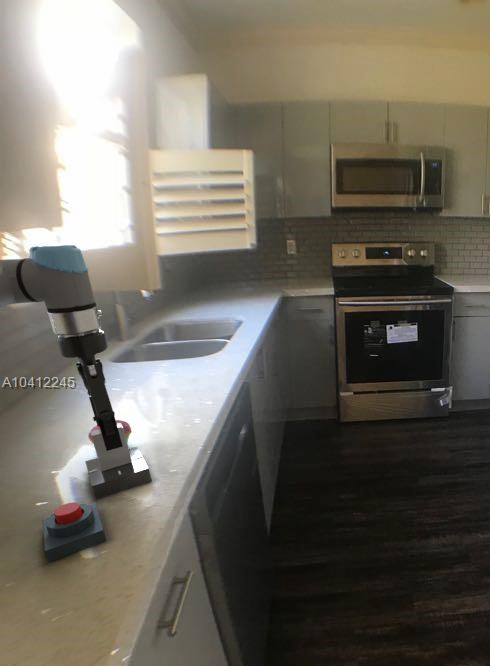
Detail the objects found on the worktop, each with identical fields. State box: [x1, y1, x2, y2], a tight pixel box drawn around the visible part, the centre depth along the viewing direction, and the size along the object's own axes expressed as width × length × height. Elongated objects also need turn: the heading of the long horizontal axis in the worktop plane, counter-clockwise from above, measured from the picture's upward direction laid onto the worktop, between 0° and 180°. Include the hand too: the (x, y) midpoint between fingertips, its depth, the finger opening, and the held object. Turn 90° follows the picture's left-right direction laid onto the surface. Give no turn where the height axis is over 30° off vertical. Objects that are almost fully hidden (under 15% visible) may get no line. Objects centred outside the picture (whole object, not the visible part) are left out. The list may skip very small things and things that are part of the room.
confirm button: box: [53, 501, 82, 524], centre depth 76 cm, size 4×4×2 cm
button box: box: [42, 501, 107, 563], centre depth 77 cm, size 10×8×4 cm
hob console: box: [85, 446, 153, 500], centre depth 94 cm, size 12×10×3 cm
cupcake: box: [87, 419, 132, 445], centre depth 104 cm, size 9×8×12 cm
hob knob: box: [89, 423, 132, 471], centre depth 92 cm, size 6×3×8 cm, turn 127°
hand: (109, 435), depth 91 cm, fingers open, 13 cm apart
